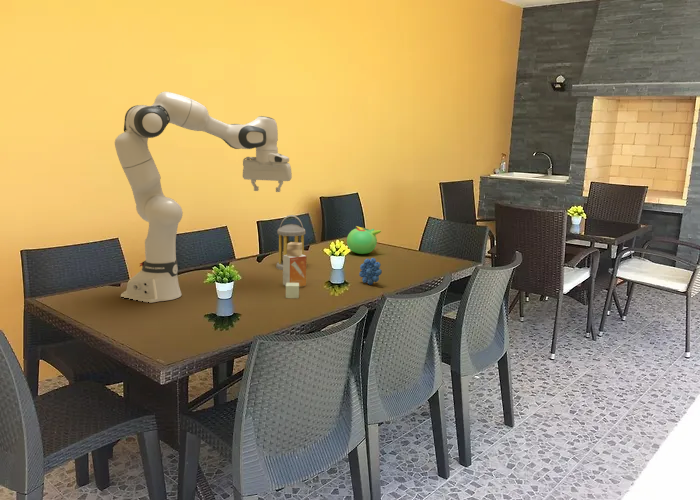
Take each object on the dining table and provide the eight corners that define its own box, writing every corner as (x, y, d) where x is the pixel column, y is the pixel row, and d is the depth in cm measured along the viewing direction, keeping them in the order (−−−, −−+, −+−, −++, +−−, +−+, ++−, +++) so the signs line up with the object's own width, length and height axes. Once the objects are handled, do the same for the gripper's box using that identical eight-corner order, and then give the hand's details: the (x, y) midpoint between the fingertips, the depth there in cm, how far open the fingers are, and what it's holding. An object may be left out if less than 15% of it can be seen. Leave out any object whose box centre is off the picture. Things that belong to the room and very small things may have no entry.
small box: (289, 288, 239) (289, 257, 237) (282, 284, 244) (282, 254, 242) (306, 285, 244) (306, 255, 241) (299, 282, 249) (299, 252, 246)
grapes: (386, 285, 248) (388, 258, 245) (377, 288, 242) (378, 260, 240) (365, 280, 255) (366, 253, 252) (355, 283, 250) (356, 256, 247)
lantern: (306, 263, 283) (307, 213, 278) (305, 270, 269) (306, 217, 264) (277, 263, 283) (277, 212, 277) (274, 270, 269) (274, 217, 264)
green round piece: (343, 250, 317) (343, 224, 314) (372, 249, 321) (373, 223, 318) (351, 257, 299) (351, 229, 296) (382, 256, 304) (383, 229, 301)
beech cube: (287, 256, 239) (287, 244, 238) (290, 253, 244) (290, 242, 243) (298, 256, 238) (298, 244, 237) (302, 254, 243) (302, 242, 242)
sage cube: (285, 298, 225) (285, 286, 224) (286, 294, 230) (286, 282, 229) (298, 298, 226) (298, 286, 225) (299, 294, 230) (299, 282, 229)
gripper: (239, 156, 234) (240, 191, 237) (288, 158, 231) (288, 193, 233) (245, 156, 240) (246, 189, 243) (292, 157, 237) (292, 191, 239)
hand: (267, 191), depth 238 cm, fingers open, 8 cm apart
